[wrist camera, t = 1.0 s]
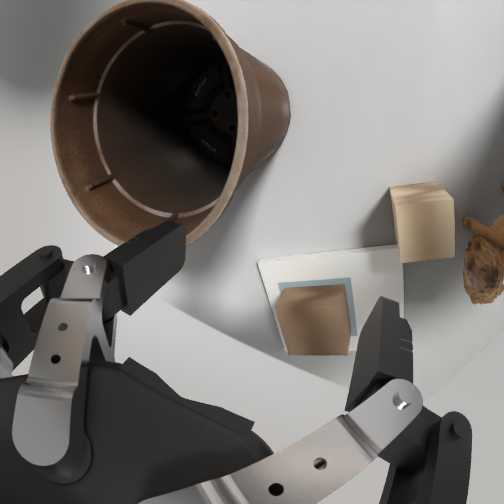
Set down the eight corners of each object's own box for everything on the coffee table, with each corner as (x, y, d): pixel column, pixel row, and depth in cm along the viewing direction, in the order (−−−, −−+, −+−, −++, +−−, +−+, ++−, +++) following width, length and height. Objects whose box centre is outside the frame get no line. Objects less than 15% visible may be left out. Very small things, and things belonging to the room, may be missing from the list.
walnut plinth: (344, 283, 30) (340, 305, 27) (351, 331, 32) (347, 354, 29) (285, 287, 33) (274, 308, 30) (297, 332, 36) (288, 354, 32)
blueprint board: (400, 243, 27) (401, 248, 26) (402, 343, 32) (402, 349, 31) (260, 258, 34) (256, 263, 33) (287, 346, 39) (284, 351, 38)
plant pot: (262, 215, 31) (178, 302, 18) (153, 145, 32) (40, 182, 19) (343, 84, 22) (315, 42, 9) (205, 23, 23) (86, -11, 10)
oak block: (436, 181, 22) (453, 199, 18) (440, 229, 24) (454, 257, 19) (389, 187, 25) (395, 205, 20) (395, 234, 26) (400, 263, 22)
